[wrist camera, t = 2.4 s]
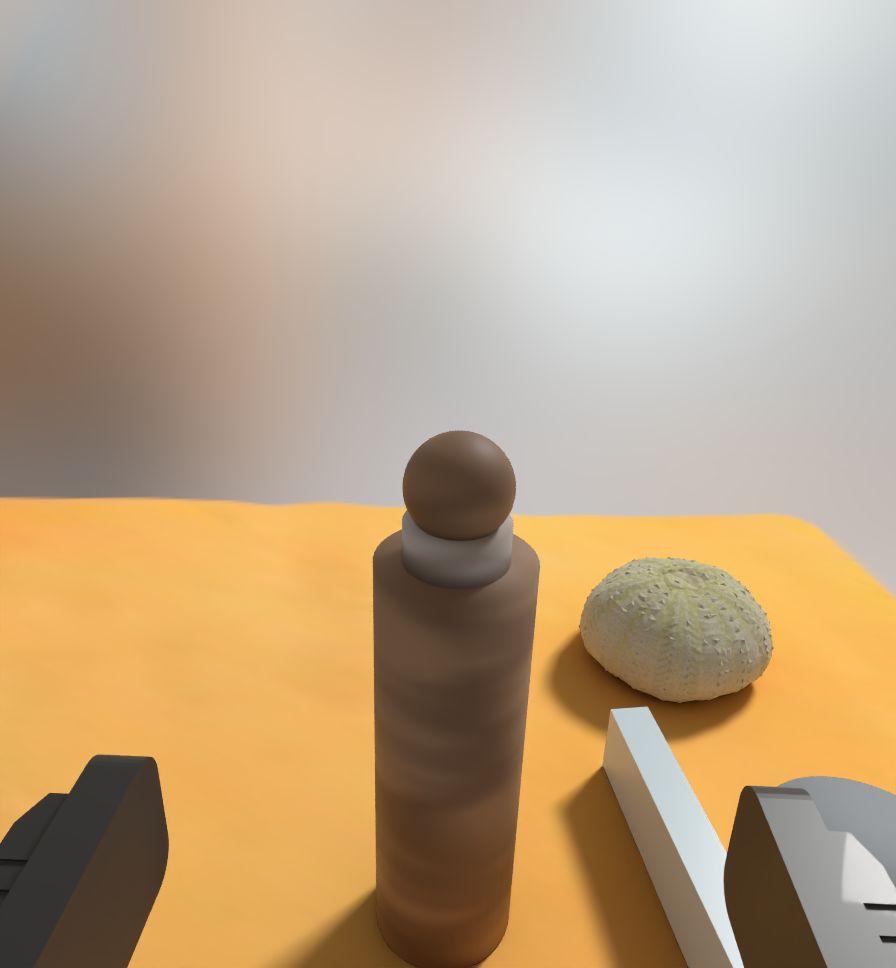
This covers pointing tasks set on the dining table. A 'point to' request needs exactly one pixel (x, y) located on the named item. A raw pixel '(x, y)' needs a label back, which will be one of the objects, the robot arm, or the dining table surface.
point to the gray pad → (856, 814)
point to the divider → (671, 837)
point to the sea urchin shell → (677, 629)
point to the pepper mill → (450, 703)
